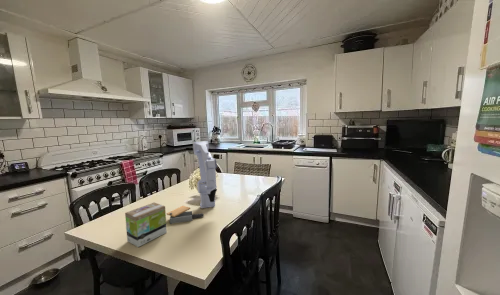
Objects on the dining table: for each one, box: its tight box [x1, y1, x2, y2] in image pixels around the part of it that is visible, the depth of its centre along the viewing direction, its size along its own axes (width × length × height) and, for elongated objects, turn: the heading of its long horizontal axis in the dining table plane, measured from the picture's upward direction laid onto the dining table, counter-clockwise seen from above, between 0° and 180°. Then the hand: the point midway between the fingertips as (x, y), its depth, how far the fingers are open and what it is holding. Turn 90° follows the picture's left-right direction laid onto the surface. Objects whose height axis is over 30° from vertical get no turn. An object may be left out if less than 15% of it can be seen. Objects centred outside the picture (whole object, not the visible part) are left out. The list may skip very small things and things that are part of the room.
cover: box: [166, 205, 191, 217], centre depth 120 cm, size 12×7×1 cm, turn 150°
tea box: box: [124, 202, 167, 248], centre depth 99 cm, size 15×10×15 cm
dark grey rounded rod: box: [192, 212, 205, 219], centre depth 120 cm, size 8×2×2 cm, turn 105°
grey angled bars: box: [169, 210, 193, 225], centre depth 117 cm, size 12×7×3 cm, turn 105°
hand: (212, 201), depth 121 cm, fingers closed
